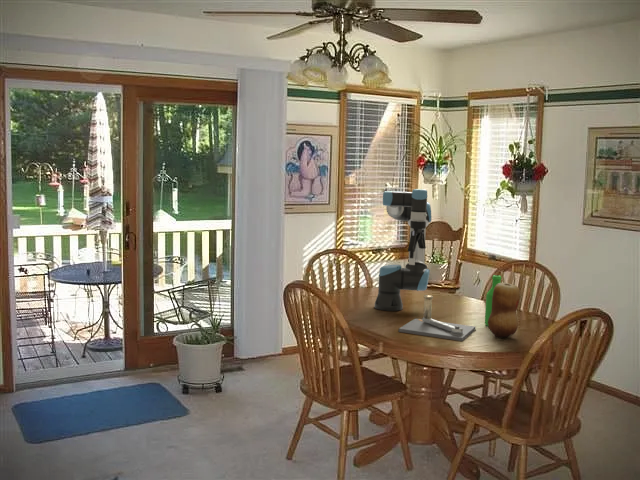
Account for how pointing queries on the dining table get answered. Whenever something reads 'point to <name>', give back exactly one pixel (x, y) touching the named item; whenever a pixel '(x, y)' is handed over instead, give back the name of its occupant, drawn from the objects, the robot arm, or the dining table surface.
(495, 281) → the bottle
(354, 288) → the dining table surface
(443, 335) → the lever board
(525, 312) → the dining table surface
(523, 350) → the dining table surface
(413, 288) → the robot arm
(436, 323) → the lever
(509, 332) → the butternut squash
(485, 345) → the dining table surface
